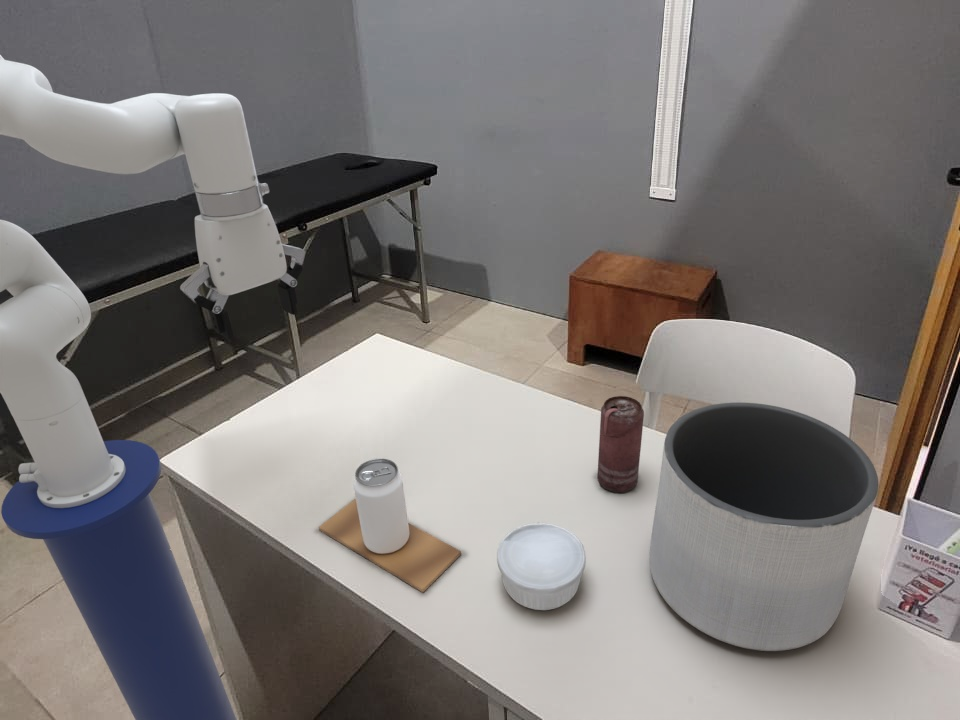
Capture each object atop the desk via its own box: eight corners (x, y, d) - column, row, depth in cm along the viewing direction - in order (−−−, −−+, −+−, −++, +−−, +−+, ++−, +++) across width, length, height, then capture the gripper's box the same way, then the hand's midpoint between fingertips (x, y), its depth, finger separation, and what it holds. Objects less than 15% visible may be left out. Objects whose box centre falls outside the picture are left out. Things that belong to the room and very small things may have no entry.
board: (319, 530, 94) (318, 527, 94) (358, 498, 99) (358, 496, 99) (423, 593, 83) (422, 589, 83) (461, 554, 89) (461, 551, 88)
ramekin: (552, 539, 90) (552, 510, 88) (602, 594, 82) (604, 564, 79) (482, 571, 86) (480, 542, 83) (527, 633, 77) (527, 603, 75)
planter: (658, 504, 95) (673, 388, 86) (829, 538, 88) (865, 416, 78) (635, 628, 77) (650, 499, 67) (848, 684, 70) (899, 549, 60)
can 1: (359, 529, 93) (347, 463, 87) (403, 517, 95) (394, 451, 89) (369, 561, 87) (357, 493, 82) (415, 547, 89) (406, 479, 83)
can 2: (587, 481, 101) (591, 406, 94) (613, 463, 104) (618, 389, 97) (619, 500, 97) (625, 423, 90) (645, 480, 100) (652, 405, 93)
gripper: (276, 182, 89) (299, 296, 97) (148, 212, 78) (186, 338, 87) (306, 190, 84) (327, 310, 92) (174, 223, 73) (211, 355, 82)
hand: (259, 323), depth 89 cm, fingers open, 9 cm apart
